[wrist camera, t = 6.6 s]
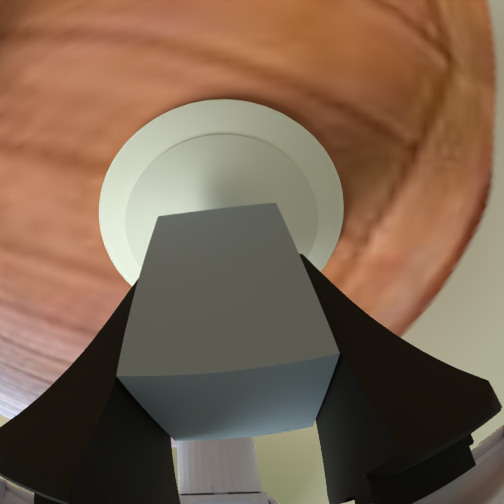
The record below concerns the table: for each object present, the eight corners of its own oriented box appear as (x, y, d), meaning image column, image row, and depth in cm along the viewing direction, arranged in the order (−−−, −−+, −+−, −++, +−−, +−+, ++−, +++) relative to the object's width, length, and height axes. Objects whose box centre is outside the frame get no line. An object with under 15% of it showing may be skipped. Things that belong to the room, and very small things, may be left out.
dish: (324, 292, 16) (330, 306, 16) (141, 312, 16) (138, 328, 15) (341, 96, 10) (354, 99, 9) (82, 125, 9) (69, 131, 8)
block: (276, 290, 12) (312, 426, 7) (181, 301, 11) (175, 440, 7) (276, 202, 9) (339, 353, 5) (158, 216, 9) (115, 375, 4)
